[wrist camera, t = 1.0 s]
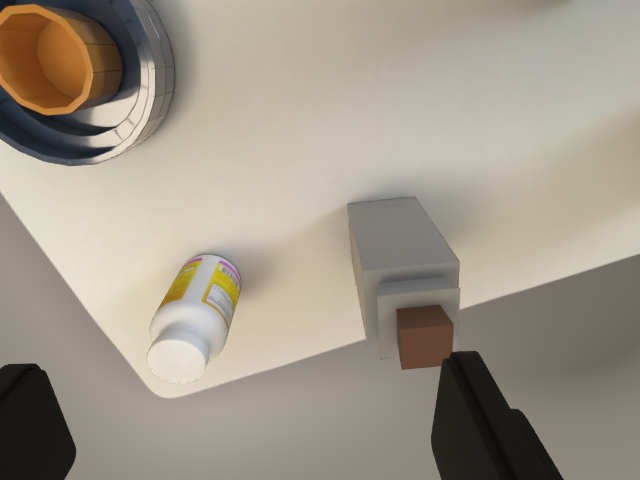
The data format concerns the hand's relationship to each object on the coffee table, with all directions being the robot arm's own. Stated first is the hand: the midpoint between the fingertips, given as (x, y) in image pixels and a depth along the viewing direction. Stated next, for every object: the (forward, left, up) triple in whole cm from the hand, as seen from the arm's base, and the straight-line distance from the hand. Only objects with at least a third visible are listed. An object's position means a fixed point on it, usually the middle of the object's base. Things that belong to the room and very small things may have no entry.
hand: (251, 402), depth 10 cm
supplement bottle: (+18, -2, -31) cm, 36 cm away
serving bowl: (+2, -19, -31) cm, 36 cm away
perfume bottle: (+5, +12, -31) cm, 33 cm away
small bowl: (+2, -19, -30) cm, 36 cm away
